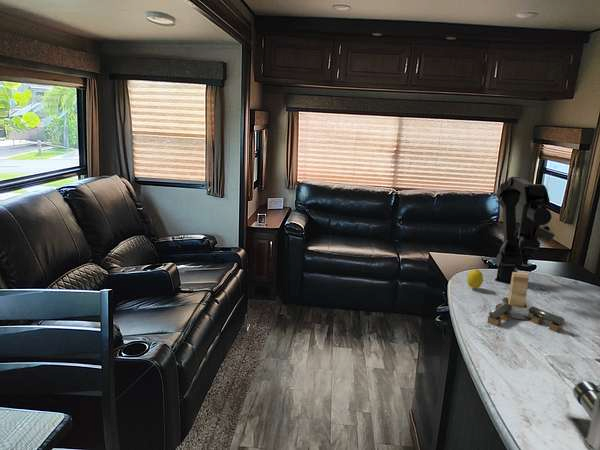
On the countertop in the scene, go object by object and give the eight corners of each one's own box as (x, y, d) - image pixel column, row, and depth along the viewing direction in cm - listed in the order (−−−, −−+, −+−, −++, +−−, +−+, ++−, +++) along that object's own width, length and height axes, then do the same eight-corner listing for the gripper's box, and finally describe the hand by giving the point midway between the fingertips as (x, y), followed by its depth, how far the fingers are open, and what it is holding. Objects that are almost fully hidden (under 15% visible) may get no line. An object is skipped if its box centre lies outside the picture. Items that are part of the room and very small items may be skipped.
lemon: (479, 286, 173) (481, 267, 171) (483, 292, 167) (486, 271, 166) (464, 285, 173) (466, 266, 171) (468, 291, 168) (470, 270, 166)
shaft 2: (526, 319, 145) (529, 307, 144) (533, 317, 146) (535, 305, 145) (557, 332, 136) (559, 319, 135) (563, 330, 138) (565, 317, 137)
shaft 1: (502, 314, 148) (504, 302, 147) (511, 318, 145) (513, 305, 144) (486, 322, 142) (488, 309, 141) (496, 326, 139) (498, 313, 138)
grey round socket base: (494, 302, 158) (495, 294, 157) (531, 308, 154) (533, 299, 153) (496, 316, 146) (498, 307, 146) (537, 322, 143) (539, 313, 142)
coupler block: (506, 306, 153) (512, 271, 150) (521, 308, 151) (527, 273, 148) (508, 311, 148) (513, 276, 146) (523, 314, 147) (529, 278, 144)
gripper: (560, 226, 149) (552, 271, 153) (550, 216, 166) (543, 256, 170) (523, 223, 153) (516, 266, 156) (517, 213, 170) (511, 252, 173)
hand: (523, 260), depth 164 cm, fingers open, 9 cm apart
